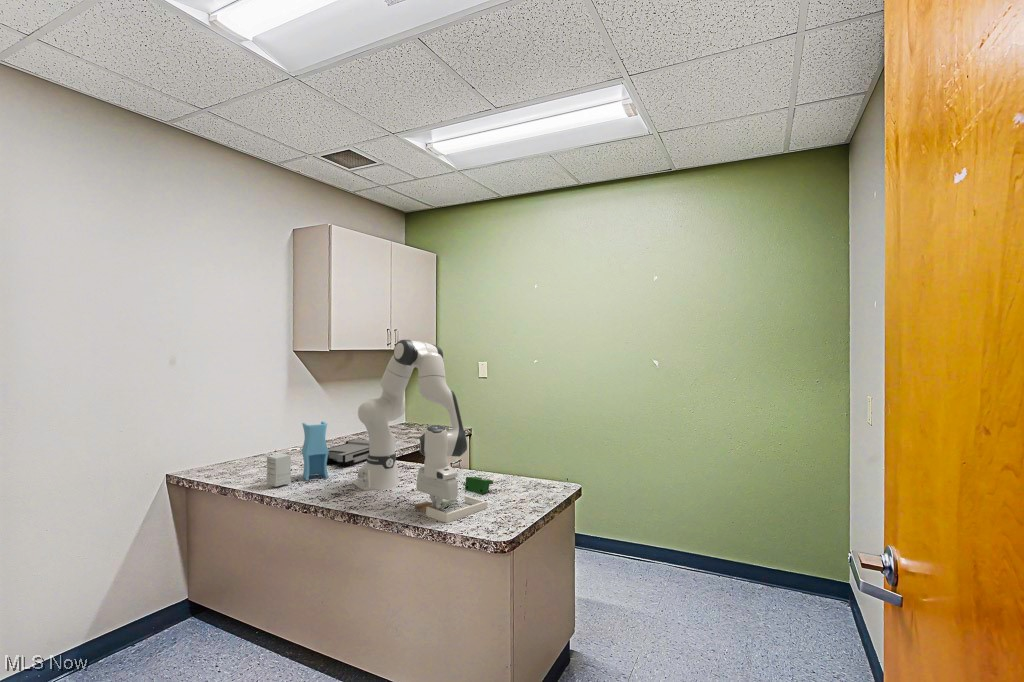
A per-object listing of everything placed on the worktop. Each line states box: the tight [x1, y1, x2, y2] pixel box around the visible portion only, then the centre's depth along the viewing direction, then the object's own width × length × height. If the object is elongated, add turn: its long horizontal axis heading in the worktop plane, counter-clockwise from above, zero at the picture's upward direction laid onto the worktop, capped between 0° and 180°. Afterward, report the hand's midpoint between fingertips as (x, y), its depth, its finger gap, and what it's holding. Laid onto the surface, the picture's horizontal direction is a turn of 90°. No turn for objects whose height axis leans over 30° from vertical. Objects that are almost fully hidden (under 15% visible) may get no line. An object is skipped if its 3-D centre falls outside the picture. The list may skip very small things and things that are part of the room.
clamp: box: [464, 476, 494, 495], centre depth 216 cm, size 12×6×9 cm, turn 44°
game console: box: [327, 438, 369, 468], centre depth 274 cm, size 21×32×8 cm, turn 158°
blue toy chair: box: [301, 421, 329, 481], centre depth 241 cm, size 10×10×25 cm
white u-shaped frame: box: [425, 495, 488, 524], centre depth 189 cm, size 12×20×3 cm, turn 138°
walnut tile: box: [414, 500, 436, 513], centre depth 194 cm, size 6×6×2 cm
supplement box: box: [266, 452, 292, 487], centre depth 228 cm, size 7×7×13 cm
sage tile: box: [436, 498, 458, 506], centre depth 201 cm, size 6×6×2 cm
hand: (436, 507), depth 190 cm, fingers closed
